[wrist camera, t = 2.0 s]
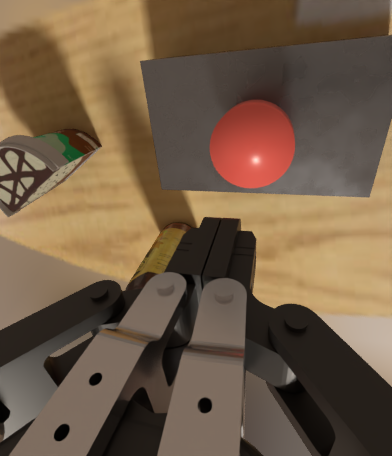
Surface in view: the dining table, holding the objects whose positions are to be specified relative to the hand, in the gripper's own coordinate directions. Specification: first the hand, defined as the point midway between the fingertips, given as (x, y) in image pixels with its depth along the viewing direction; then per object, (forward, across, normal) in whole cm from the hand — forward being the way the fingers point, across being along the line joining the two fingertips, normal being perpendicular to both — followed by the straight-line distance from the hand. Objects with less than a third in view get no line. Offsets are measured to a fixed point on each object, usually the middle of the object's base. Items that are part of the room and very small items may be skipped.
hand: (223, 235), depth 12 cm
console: (+22, 0, 0) cm, 22 cm away
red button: (+17, 0, 0) cm, 17 cm away
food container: (+22, +26, +2) cm, 34 cm away
